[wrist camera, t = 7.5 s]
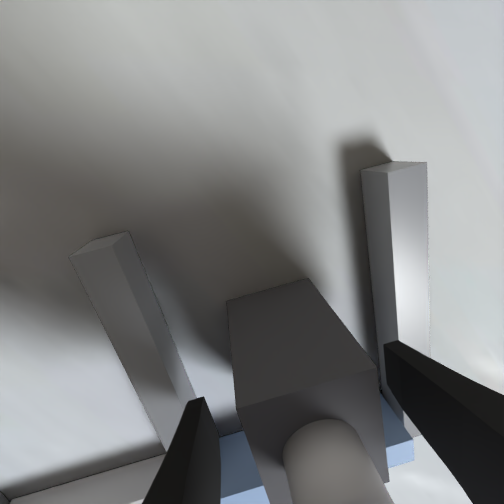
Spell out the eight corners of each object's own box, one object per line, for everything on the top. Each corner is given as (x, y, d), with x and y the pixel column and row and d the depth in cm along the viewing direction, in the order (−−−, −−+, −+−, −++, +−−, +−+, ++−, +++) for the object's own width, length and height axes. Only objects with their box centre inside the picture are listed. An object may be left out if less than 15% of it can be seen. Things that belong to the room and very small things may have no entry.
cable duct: (407, 400, 17) (446, 450, 14) (-5, 524, 16) (-52, 604, 13) (393, 161, 12) (449, 162, 9) (-200, 316, 11) (-343, 372, 8)
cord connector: (323, 360, 15) (432, 562, 8) (251, 380, 15) (290, 609, 7) (308, 277, 13) (429, 435, 6) (226, 300, 13) (243, 492, 6)
